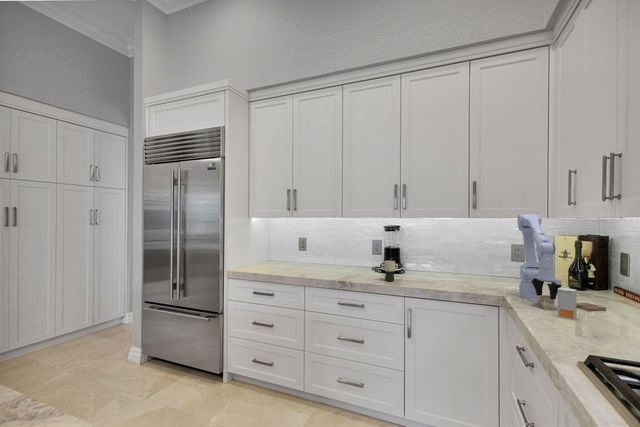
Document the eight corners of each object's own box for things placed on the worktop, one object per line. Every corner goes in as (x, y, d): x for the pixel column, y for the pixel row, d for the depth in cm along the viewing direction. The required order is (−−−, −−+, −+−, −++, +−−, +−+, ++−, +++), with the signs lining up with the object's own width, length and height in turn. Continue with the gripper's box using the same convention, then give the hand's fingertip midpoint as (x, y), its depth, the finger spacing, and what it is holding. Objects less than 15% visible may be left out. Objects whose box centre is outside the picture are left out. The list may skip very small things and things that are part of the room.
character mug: (396, 279, 225) (396, 260, 225) (399, 281, 218) (399, 261, 218) (380, 279, 224) (380, 260, 225) (382, 282, 217) (382, 261, 217)
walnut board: (570, 306, 157) (570, 303, 157) (586, 305, 159) (586, 302, 159) (589, 311, 148) (589, 308, 148) (606, 310, 150) (606, 307, 150)
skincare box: (557, 317, 141) (556, 288, 141) (559, 315, 144) (559, 287, 144) (575, 320, 136) (574, 291, 136) (576, 318, 139) (576, 289, 139)
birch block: (537, 306, 157) (537, 295, 157) (547, 305, 158) (546, 295, 158) (545, 308, 153) (544, 297, 153) (554, 308, 154) (554, 297, 154)
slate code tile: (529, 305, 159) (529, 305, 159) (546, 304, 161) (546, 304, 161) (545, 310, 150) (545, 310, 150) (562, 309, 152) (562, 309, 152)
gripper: (526, 266, 162) (526, 294, 162) (551, 270, 148) (552, 301, 148) (538, 265, 163) (538, 293, 163) (565, 270, 149) (565, 300, 149)
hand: (546, 297), depth 155 cm, fingers open, 7 cm apart
